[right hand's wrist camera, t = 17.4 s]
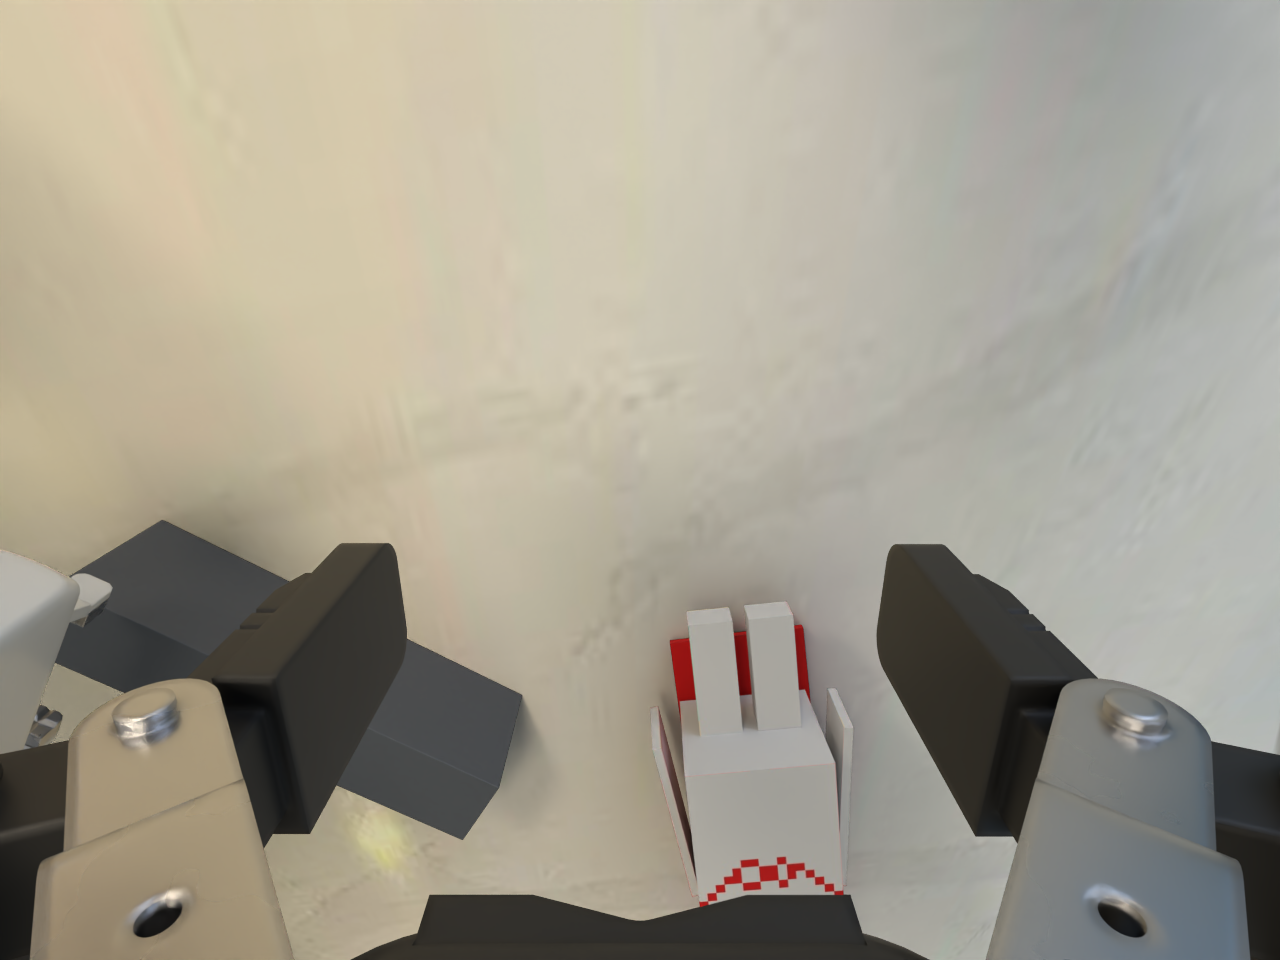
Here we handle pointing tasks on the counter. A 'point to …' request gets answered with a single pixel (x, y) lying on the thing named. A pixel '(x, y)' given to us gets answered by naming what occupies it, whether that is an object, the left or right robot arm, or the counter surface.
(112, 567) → the bar
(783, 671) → the toy
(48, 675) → the left robot arm
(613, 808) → the counter surface
